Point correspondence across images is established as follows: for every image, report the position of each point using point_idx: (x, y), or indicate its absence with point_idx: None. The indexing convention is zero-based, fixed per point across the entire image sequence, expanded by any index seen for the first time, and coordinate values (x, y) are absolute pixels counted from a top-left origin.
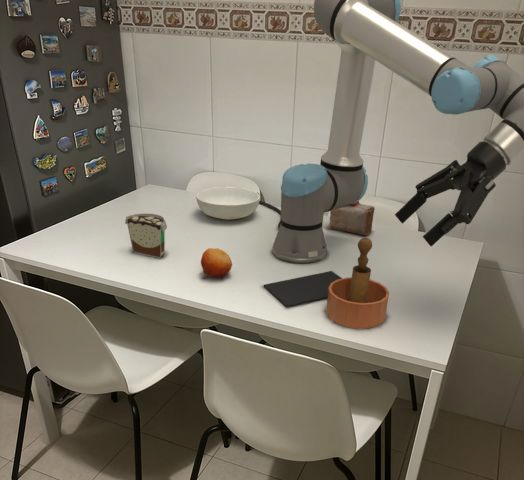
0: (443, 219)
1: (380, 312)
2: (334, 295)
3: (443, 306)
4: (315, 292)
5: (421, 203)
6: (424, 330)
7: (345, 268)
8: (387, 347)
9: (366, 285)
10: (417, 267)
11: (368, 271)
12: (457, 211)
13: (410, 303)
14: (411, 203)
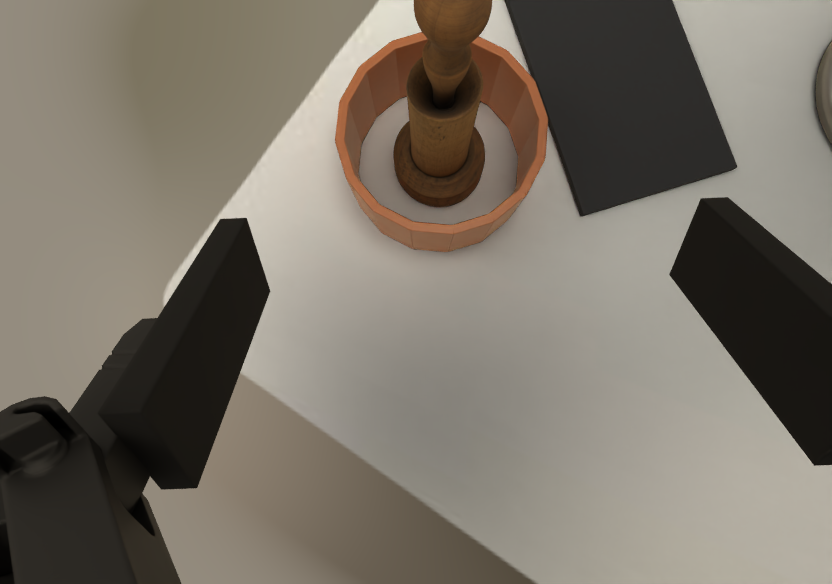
0: (151, 345)
1: (355, 195)
2: (412, 37)
3: (450, 461)
4: (575, 74)
5: (800, 418)
6: (316, 332)
7: (767, 230)
8: (248, 194)
9: (412, 129)
10: (763, 507)
11: (435, 114)
12: (14, 485)
13: (483, 359)
14: (790, 306)
